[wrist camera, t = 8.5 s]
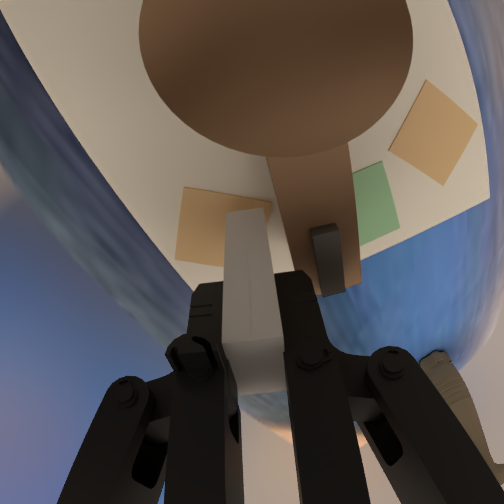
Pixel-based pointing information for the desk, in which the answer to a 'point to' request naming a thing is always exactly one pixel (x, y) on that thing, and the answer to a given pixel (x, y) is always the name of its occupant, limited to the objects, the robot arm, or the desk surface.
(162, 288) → the desk surface
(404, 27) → the brown frying pan
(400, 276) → the desk surface
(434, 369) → the handle
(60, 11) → the board
